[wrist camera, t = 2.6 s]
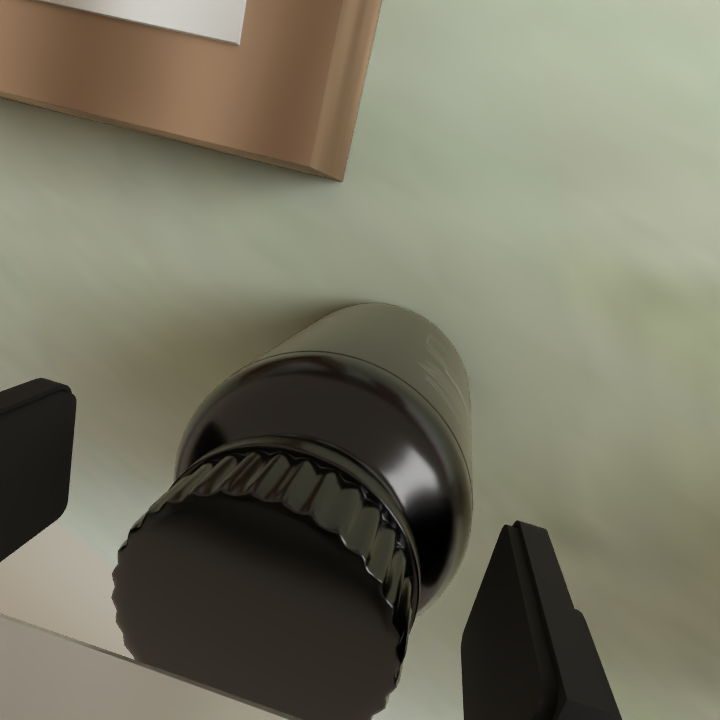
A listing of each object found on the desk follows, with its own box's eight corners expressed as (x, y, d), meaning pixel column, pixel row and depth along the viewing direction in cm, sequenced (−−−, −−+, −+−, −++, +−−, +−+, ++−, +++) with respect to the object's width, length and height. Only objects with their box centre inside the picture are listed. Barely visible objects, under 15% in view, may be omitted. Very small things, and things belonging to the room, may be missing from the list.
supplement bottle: (298, 287, 19) (41, 371, 7) (484, 315, 18) (533, 466, 6) (282, 456, 20) (57, 738, 9) (451, 490, 19) (440, 858, 8)
